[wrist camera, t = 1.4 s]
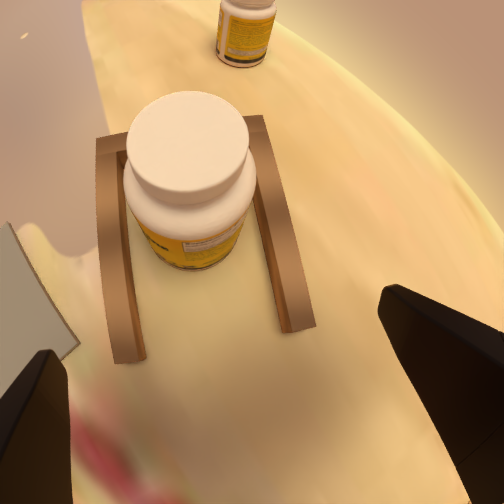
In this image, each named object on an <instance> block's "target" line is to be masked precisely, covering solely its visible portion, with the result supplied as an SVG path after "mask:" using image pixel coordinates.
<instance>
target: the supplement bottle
mask: <svg viewBox="0 0 504 504" xmlns="http://www.w3.org/2000/svg"><path fill="white" fill-rule="evenodd" d="M274 1H275V0H222V1H221V4H220V12H219V22H218V32H217V43H216V53H217V56H218V57H219V58H220V59H221V60H222V61H224V62H225V63H227V64H229V65H232V66H236V67H250V66H254V65H256V64H258V63H260V62H261V61H262V60H263V59H264V57H265V54H266V50H267V46H268V42H269V38H270V34H271V31H272V26H273V23H274V19H275V15H276V11H277V10H276V9H277V8H276V4H275V2H274Z"/></svg>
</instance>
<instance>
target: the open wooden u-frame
mask: <svg viewBox="0 0 504 504" xmlns="http://www.w3.org/2000/svg"><path fill="white" fill-rule="evenodd" d="M242 117H243V119H244V121H245V123H246V125H247V128H248V133H249V149H250V151H251V154H252V156H253V159H254V162H255V167H256V186H255V191H254V195H253V202H254V206H255V210H256V215H257V219H258V224H259V228H260V233H261V237H262V242H263V246H264V250H265V255H266V259H267V264H268V269H269V273H270V278H271V282H272V287H273V291H274V296H275V300H276V305H277V310H278V314H279V319H280V323H281V328H282V333H290V332H296V331H300V330H305V329H309V328H313V327H316V323H315V319H314V314H313V310H312V305H311V301H310V296H309V292H308V287H307V283H306V279H305V275H304V270H303V266H302V262H301V258H300V254H299V250H298V245H297V241H296V237H295V233H294V229H293V225H292V221H291V217H290V214H289V210H288V206H287V202H286V198H285V194H284V191H283V187H282V183H281V179H280V176H279V172H278V168H277V165H276V161H275V157H274V154H273V150H272V147H271V143H270V139H269V136H268V132H267V129H266V125H265V122H264V119H263V115H254V116H242ZM127 135H128V132H124V133H119V134H114V135H110V136H105V137H100V138H97V139H96V215H97V233H98V248H99V260H100V270H101V280H102V288H103V296H104V304H105V311H106V318H107V324H108V330H109V336H110V342H111V348H112V353H113V358H114V363H115V364H123V363H130V362H138V361H141V360H144V359H146V353H145V348H144V343H143V337H142V332H141V326H140V321H139V315H138V308H137V302H136V295H135V289H134V281H133V274H132V266H131V258H130V249H129V239H128V229H127V217H126V204H125V192H124V185H123V177H124V169H125V165H126V162H127V159H128V156H127V149H126V141H127Z"/></svg>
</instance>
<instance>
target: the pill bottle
mask: <svg viewBox="0 0 504 504" xmlns="http://www.w3.org/2000/svg"><path fill="white" fill-rule="evenodd" d="M126 149H127V156H128V159H127V162H126V165H125V169H124V177H123V185H124V192H125V196H126V200H127V202H128V205H129V207H130V209H131V211H132V213H133V215H134V216H135V218H136V220H137V222H138V223H139V225H140V227H141V229H142V231H143V233H144V234H145V236H146V238H147V240H148V241H149V243H150V245H151V247H152V248H153V250H154V251H155V253H156V254H157V255H158V256H159V257H160V258H161V259H162V260H163V261H164V262H166V263H167V264H169V265H171V266H173V267H175V268H178V269H181V270H188V271H195V270H203V269H207V268H210V267H212V266H214V265H216V264H218V263H219V262H221V261H222V260H223V259H224V258H225V257H226V256H227V255H228V254H229V253H230V251H231V250H232V249H233V247H234V245H235V243H236V241H237V238H238V236H239V233H240V231H241V228H242V225H243V223H244V220H245V217H246V214H247V212H248V209H249V206H250V204H251V201H252V198H253V195H254V191H255V186H256V167H255V162H254V159H253V156H252V154H251V151H250V149H249V133H248V128H247V125H246V123H245V121H244V119H243V117H242V115H241V114H240V113H239V112H238V110H237V109H236V108H235V107H234V106H232V105H231V104H230V103H228V102H227V101H225V100H224V99H222V98H220V97H218V96H215V95H213V94H209V93H205V92H199V91H181V92H176V93H172V94H168V95H165V96H163V97H160V98H158V99H156V100H155V101H153V102H151V103H150V104H149V105H147V106H146V107H145V108H143V109H142V110H141V112H140V113H139V114H138V115H137V116H136V118H135V119H134V121H133V122H132V124H131V126H130V128H129V132H128V135H127V141H126Z"/></svg>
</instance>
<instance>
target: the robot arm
mask: <svg viewBox="0 0 504 504" xmlns="http://www.w3.org/2000/svg"><path fill="white" fill-rule="evenodd" d="M378 316H379V318H380V321H381V323H382V325H383V327H384V329H385V331H386V334H387V336H388V338H389V340H390V342H391V345H392V347H393V349H394V351H395V354H396V356H397V358H398V360H399V361H400V363H401V365H402V367H403V369H404V370H405V372H406V374H407V376H408V378H409V379H410V381H411V383H412V385H413V386H414V388H415V390H416V392H417V394H418V396H419V397H420V399H421V401H422V403H423V405H424V407H425V408H426V410H427V412H428V414H429V416H430V418H431V420H432V422H433V424H434V426H435V427H436V429H437V431H438V433H439V435H440V437H441V439H442V441H443V443H444V445H445V447H446V449H447V451H448V453H449V455H450V457H451V459H452V461H453V463H454V465H455V467H456V470H457V472H458V474H459V476H460V479H461V481H462V483H463V485H464V487H465V489H466V492H467V494H468V496H469V498H470V500H471V503H472V504H503V503H504V333H503V332H501V331H498V330H497V329H494V328H492V327H490V326H488V325H486V324H484V323H482V322H480V321H477V320H475V319H473V318H471V317H469V316H467V315H465V314H462V313H460V312H458V311H456V310H454V309H452V308H449V307H447V306H445V305H443V304H441V303H439V302H436V301H434V300H432V299H430V298H428V297H425V296H423V295H421V294H419V293H416V292H414V291H412V290H410V289H408V288H405V287H403V286H401V285H398V284H393V285H389V286H386V287H384V288H383V290H382V293H381V297H380V301H379V305H378ZM0 504H73V498H72V483H71V456H70V414H69V398H68V376H67V372H66V369H65V367H64V366H63V364H62V363H61V361H60V359H59V358H58V356H57V355H56V353H55V352H54V351H53V350H52V349H44V350H39V351H38V352H37V353H36V354H35V355H34V356H33V357H32V359H31V360H30V361H29V362H28V364H27V365H26V366H25V367H24V369H23V370H22V371H21V372H20V374H19V375H18V376H17V377H16V379H15V380H14V381H13V382H12V384H11V385H10V386H9V388H8V389H7V390H6V392H5V393H4V394H3V396H2V397H1V398H0Z"/></svg>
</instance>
